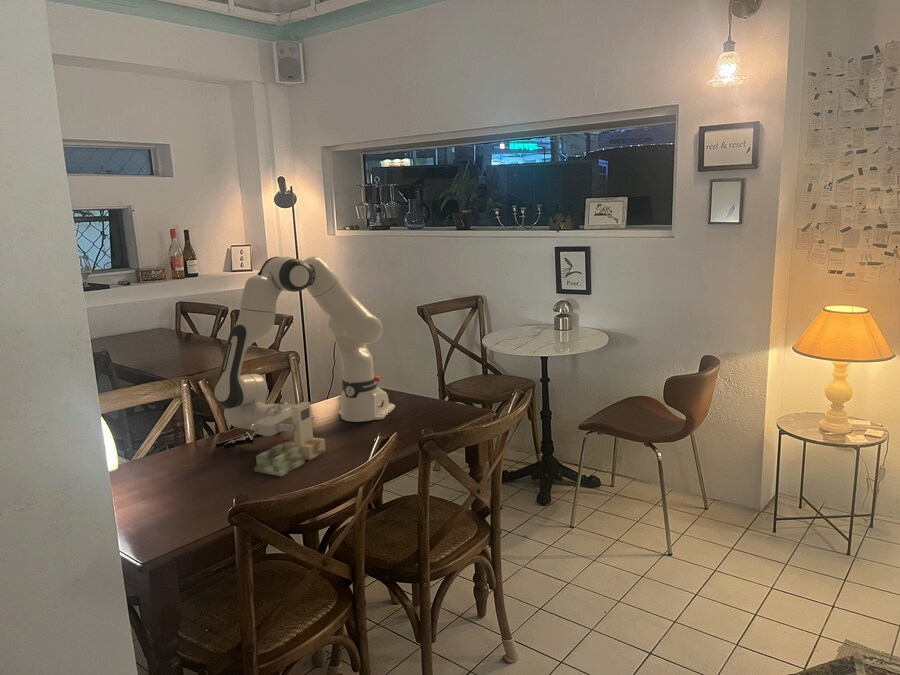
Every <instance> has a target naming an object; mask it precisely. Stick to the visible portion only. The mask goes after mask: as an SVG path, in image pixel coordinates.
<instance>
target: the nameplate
mask: <svg viewBox="0 0 900 675" xmlns="http://www.w3.org/2000/svg"><path fill="white" fill-rule="evenodd" d="M280 433H281V434H282V432H279V433H277V434H279V435H281V434H280ZM277 434H276V435H277ZM259 436H263V435H259V434H257V433H255V431H254V432H253V433H250V432H249V431H243V434H240V435H237V436H233V437H231V438H228V439H224V440H221V441H219V442H216V443H215V448H220V447H219V446H221V447H223V449H224V448H225V449H228V448H230V447H232V446H233V448H235V447H236V445H240V444H239V443H241V444H244V443H245V444H247V442H249V443H250V442H251V443H250V444H254V443H253V442H254V440H255V439H256V437H257V438H260V437H259ZM263 437H264V436H263ZM254 438H255V439H254ZM248 440H249V441H248ZM223 445H224V446H223ZM229 446H230V447H229ZM227 447H228V448H227Z"/></svg>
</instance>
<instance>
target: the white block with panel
mask: <svg viewBox="0 0 900 675" xmlns="http://www.w3.org/2000/svg"><path fill="white" fill-rule="evenodd" d="M311 405H312V404H311V402H310V401H302V402H299V403H297V404H296V405H295V406H293V407H292V417H293V424H294V425H295V430H293V438H294V440H295V444H298V445H302V444H304V443H306V442H308V441H310V440H312V439H313V437H314V433H313V421H312V417H311V415H312V408H311Z"/></svg>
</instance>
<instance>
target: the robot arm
mask: <svg viewBox="0 0 900 675" xmlns="http://www.w3.org/2000/svg"><path fill="white" fill-rule="evenodd" d="M305 289H307V291H308V293H309V294H310V295H311V297H312V298H313V299H314V300H315V302H316V303H317V304H318V306H319V307H320V308H321V310H322V311H323V312H324V313H325V314H326V315H328V316H330V317H329V320H328V329H329V331H330V333H331V334H332V336H333V337H334V339H335V342H336V345H337V348H338V350H339V351H338V352H339V355H340V359H341V368H342V369H341V370H342V380H341V386H342V387H341V388H342V392H341V395H340V396H341V397H340V410H339V411H338V415H339V416H340V418H341V419H342V421H346V422H352V423H354V422H355V423H359V422H360V423H361V422H369V421H375V420H383V419H385V417H386V415H387V416H388V415H389V414H390V413H391V412H392V411H394V409H395V408H396V405H395V404H394V403H392V402H390V401H389V395H388V392H386V391H385V390H383V389H382V388H381V387H379V386H378V384H377V382H381V376H379V375H377V376H376V375H374V361H373V360H374V359H373V355H372V354H371V353H370V351H369V349H368V347H367V345H369V344H374V343H376V342H378V341H379V340H380V339H381V337H382V335H383V330H384V327H383V322H382V321H381V320H380V319H379V318H378V317H376V316H375V315H374V314H373V313H372V312H370V311H369V310H368V309H367V308H366V307H365V306H364V305H363V304H362V303H361V302H360V301H359V300H358V299H357V298H356V297H355V296H354V295H353V294H352V293H351V292H350V291H349V290H348V288H347V287H346V285H345V284H344V283H343V282H342V280H341V279H340V277H339V276H338V275H337V274H336V272H335V271H334V270H333V269H332V267H331V266H330V265H329V264H328V263H327V262H326V261H325V260H323V259H322V258H321V257H320V256H310V257H307V258H306V259H303V260H302V259H299V258H294V257H290V256H273V257H270V258H268V259H267V260H265V261H264V263H263V264H262V266H261V268H260V270H259V271H258V273H257V275H253V276H251V277H249V278H247V280H246V282H245V285H244V287H243V291H242V295H241V302H240V306H239V314H238V318H237V320H236V323H235V324H234V326H233V327H232V328H231V330H230V332H229V335H228V339H227V342H226V346H225V350H224V355H223V358H222V362H221V367H220V370H219V371H220V372H219V374H218V377H217V379H216V381H215V384H214V387H213V397H214V399H215V401H216V402H217V404H218V405H220V407H222V408H224V409H223V410H224V411H223V416H224V419H225V420H226V422H227V423H228V424H229V425H231V426H233V427H234V428H239V429H243V430H249V431H254V432H255V433H257V434H259V435H263V437H272V436H273V437H274V435H277V433H279V432H281V433H283V432H282V431H284V432H292V431H293V432H294V430H295V425H294V424H293V417H292V407H293V406H295V405H297V404H295V403H293V404H291V403H290V404H289V402H288V401H282V402H277V403H268V404H267V400H268V394H269V393H268V392H269V390H268V388H269V387H268V383H267V381H266V379H265V377H263V376H262V375H261V374H259V373H248V374H243V375H242V374H241V371H242V367H243V363H244V358H245V355H246V352H247V351H248V350H247V349H249V347H251V345H253V343H255V342H256V341H259V340H260V339H262V338H264V337H266V336H267V335H268V334H270V332H271V331H272V330H273V327H274V324H275V320H276V314H277V313H276V311H277V301H278V298H279V296H280V295H281V293H282V292H283V291H284V292H292V293H293V292H301V291H303V290H305ZM388 413H389V414H388ZM311 417H312V422H313V421H314V420H315V419H314V418H315V416H314V415H313V414H311Z"/></svg>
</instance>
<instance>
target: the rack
mask: <svg viewBox="0 0 900 675" xmlns="http://www.w3.org/2000/svg"><path fill="white" fill-rule="evenodd" d="M255 460H256V466H254V468H253V470H254V472H256V473H262V474H267V475H271V476H278V477H282V476H284V475H286V474H288V473H290V472H292V471H293V470H295V469H296V468H298V467H300V466H302V465H304V464H305V463H306V462H305V461H306V459H302V457H301V447H299V446H296V447H294V448H292V449H290V450H288V451H286V452H285V444H283V443H279V444H277V445H275V446H273V447H271V448H268V449H267V450H265V451H263V452H261V453H259V454H257V455H255Z"/></svg>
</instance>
